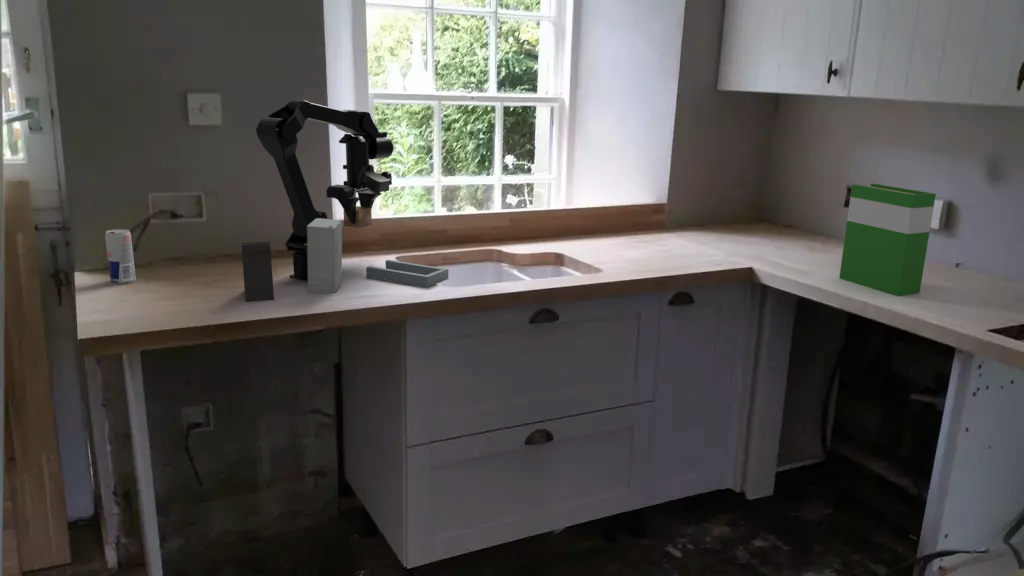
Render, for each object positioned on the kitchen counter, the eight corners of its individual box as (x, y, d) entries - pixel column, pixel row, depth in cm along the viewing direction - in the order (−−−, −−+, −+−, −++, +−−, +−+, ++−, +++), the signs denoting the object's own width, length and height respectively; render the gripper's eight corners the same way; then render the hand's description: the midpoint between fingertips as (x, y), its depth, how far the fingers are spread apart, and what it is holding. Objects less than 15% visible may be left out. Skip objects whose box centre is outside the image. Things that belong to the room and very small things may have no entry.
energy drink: (111, 279, 187) (105, 229, 184) (136, 277, 189) (131, 228, 186) (109, 285, 182) (103, 234, 179) (135, 283, 184) (129, 232, 181)
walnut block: (359, 228, 202) (359, 210, 201) (344, 225, 204) (343, 208, 203) (371, 225, 206) (371, 207, 205) (356, 222, 208) (355, 206, 207)
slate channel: (427, 287, 186) (427, 276, 185) (366, 276, 194) (366, 266, 193) (448, 278, 194) (448, 269, 193) (388, 269, 202) (388, 259, 201)
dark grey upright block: (244, 291, 180) (240, 239, 177) (272, 289, 182) (268, 238, 179) (245, 302, 172) (241, 248, 169) (274, 300, 174) (270, 246, 171)
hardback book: (839, 278, 202) (851, 184, 196) (860, 275, 205) (873, 183, 199) (897, 296, 187) (913, 195, 181) (919, 293, 190) (935, 193, 184)
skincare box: (315, 283, 187) (312, 217, 183) (345, 284, 187) (343, 218, 183) (306, 293, 179) (302, 224, 175) (337, 294, 179) (335, 225, 175)
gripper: (359, 166, 189) (361, 231, 193) (405, 160, 205) (406, 219, 209) (323, 163, 194) (326, 226, 198) (370, 157, 210) (372, 215, 214)
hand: (359, 221), depth 205 cm, fingers closed on walnut block, 5 cm apart
